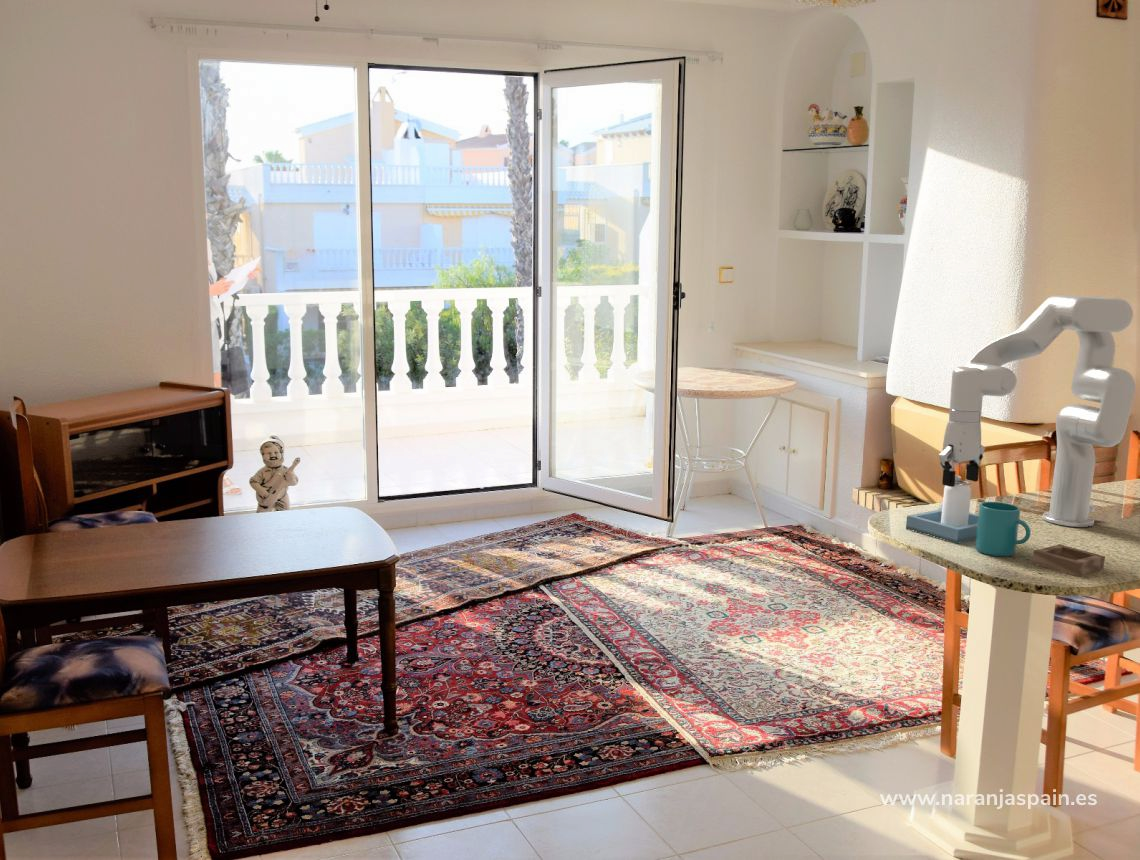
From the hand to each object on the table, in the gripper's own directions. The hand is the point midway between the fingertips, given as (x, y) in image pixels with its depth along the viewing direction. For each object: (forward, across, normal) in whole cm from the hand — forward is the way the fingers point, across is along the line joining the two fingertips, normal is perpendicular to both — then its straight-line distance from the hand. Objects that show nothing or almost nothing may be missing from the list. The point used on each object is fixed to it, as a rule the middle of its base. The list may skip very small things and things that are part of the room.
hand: (960, 483), depth 272 cm
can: (+12, +1, 0) cm, 12 cm away
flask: (+13, -17, -13) cm, 25 cm away
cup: (+13, +8, +18) cm, 23 cm away
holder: (+13, +3, +32) cm, 34 cm away
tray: (+13, +1, 0) cm, 13 cm away
